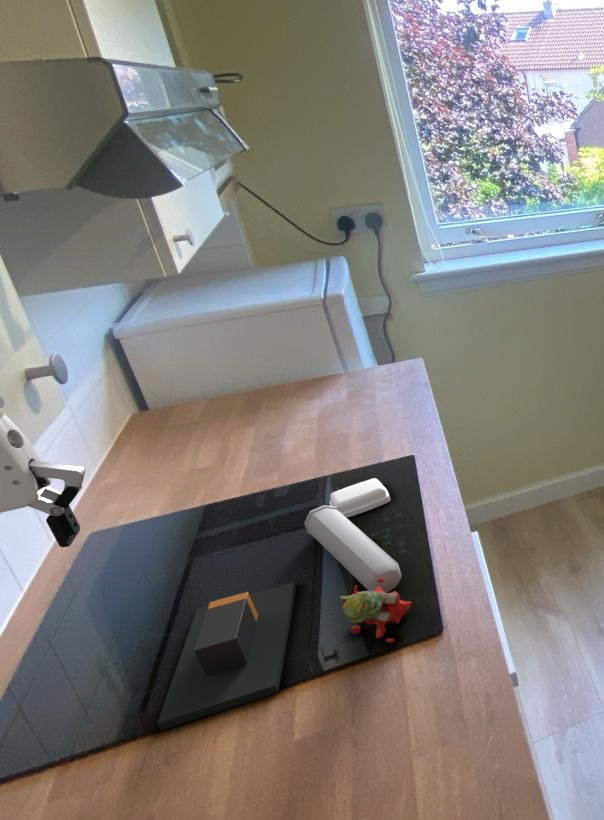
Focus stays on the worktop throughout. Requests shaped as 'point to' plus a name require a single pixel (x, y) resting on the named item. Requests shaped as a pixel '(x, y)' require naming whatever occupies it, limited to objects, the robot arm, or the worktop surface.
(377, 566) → the tube
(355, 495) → the soap
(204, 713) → the mat
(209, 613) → the battery
